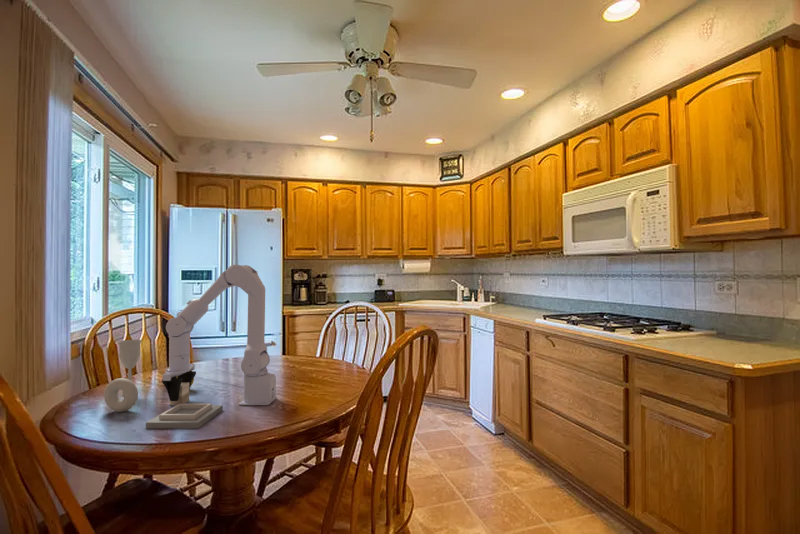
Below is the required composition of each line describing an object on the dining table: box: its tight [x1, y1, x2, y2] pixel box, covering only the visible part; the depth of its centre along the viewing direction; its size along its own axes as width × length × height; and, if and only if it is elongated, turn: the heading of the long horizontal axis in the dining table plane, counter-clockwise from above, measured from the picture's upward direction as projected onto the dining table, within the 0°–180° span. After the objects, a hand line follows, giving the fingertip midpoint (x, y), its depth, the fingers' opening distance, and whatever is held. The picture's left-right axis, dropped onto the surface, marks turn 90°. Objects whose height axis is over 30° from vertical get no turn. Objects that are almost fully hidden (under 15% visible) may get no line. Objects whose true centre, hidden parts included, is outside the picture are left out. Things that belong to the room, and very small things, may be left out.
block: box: [169, 382, 190, 406], centre depth 127 cm, size 4×4×6 cm
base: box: [145, 403, 223, 429], centre depth 113 cm, size 14×14×3 cm
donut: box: [103, 377, 139, 413], centre depth 119 cm, size 10×4×10 cm, turn 84°
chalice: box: [117, 339, 143, 397], centre depth 137 cm, size 7×7×18 cm
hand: (179, 397), depth 127 cm, fingers open, 5 cm apart
